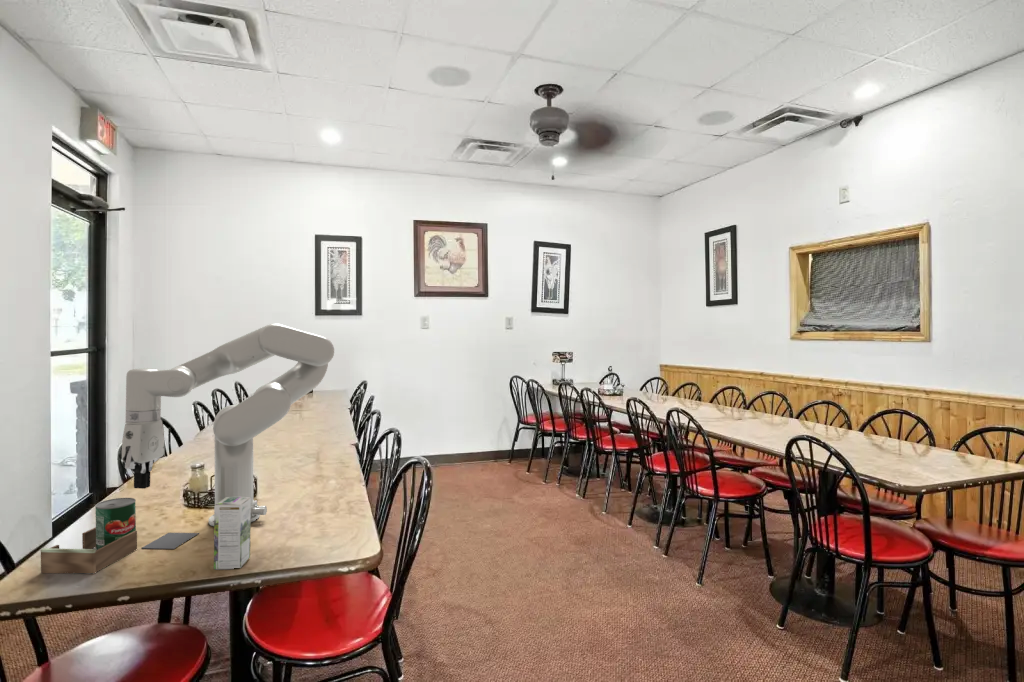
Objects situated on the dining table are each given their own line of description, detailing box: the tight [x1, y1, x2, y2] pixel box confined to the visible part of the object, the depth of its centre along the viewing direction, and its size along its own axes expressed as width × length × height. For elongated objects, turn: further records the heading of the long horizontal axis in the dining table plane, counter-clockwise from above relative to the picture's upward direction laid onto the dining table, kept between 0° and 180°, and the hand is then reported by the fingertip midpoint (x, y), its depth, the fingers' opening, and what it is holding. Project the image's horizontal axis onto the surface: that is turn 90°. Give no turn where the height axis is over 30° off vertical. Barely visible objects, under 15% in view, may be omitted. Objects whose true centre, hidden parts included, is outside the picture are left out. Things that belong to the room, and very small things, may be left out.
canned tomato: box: [94, 497, 137, 550], centre depth 132 cm, size 8×8×11 cm
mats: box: [141, 532, 200, 550], centre depth 132 cm, size 24×18×1 cm
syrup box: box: [213, 496, 252, 571], centre depth 123 cm, size 6×6×14 cm
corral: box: [40, 526, 138, 574], centre depth 130 cm, size 12×24×5 cm, turn 178°
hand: (141, 487), depth 142 cm, fingers closed
